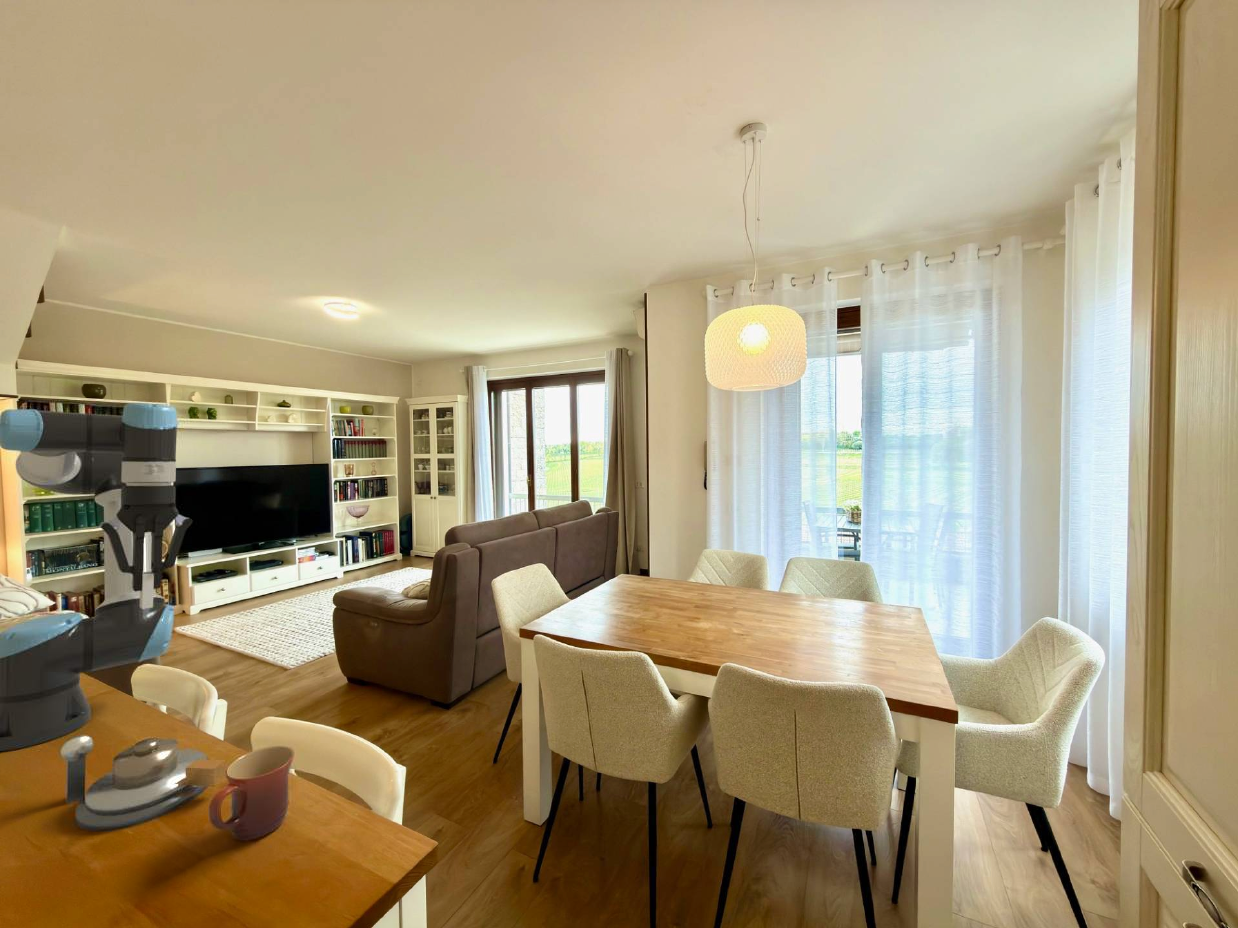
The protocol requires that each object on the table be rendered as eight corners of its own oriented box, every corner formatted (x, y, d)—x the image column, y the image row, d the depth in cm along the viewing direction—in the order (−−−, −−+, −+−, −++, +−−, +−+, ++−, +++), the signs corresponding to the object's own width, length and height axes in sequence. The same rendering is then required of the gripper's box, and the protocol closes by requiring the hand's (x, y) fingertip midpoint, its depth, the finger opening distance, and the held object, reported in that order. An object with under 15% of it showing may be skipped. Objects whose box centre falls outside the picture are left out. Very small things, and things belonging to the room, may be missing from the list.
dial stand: (58, 801, 81) (60, 736, 81) (90, 790, 84) (91, 728, 84) (59, 808, 79) (61, 743, 79) (92, 797, 82) (93, 733, 82)
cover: (97, 788, 80) (98, 755, 80) (146, 759, 88) (147, 729, 88) (144, 790, 79) (145, 757, 79) (189, 761, 87) (190, 730, 87)
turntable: (55, 812, 76) (56, 788, 76) (151, 755, 91) (151, 735, 91) (178, 818, 75) (178, 793, 75) (254, 760, 90) (254, 739, 90)
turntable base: (70, 798, 82) (70, 789, 82) (200, 752, 95) (200, 745, 95) (80, 848, 71) (81, 838, 71) (225, 789, 85) (225, 780, 85)
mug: (262, 802, 82) (263, 742, 82) (306, 811, 80) (307, 749, 80) (185, 859, 70) (187, 788, 70) (235, 870, 68) (236, 797, 68)
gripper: (102, 485, 86) (99, 618, 85) (198, 484, 96) (195, 603, 96) (97, 484, 90) (94, 610, 90) (189, 483, 100) (186, 596, 100)
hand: (146, 606), depth 93 cm, fingers closed
